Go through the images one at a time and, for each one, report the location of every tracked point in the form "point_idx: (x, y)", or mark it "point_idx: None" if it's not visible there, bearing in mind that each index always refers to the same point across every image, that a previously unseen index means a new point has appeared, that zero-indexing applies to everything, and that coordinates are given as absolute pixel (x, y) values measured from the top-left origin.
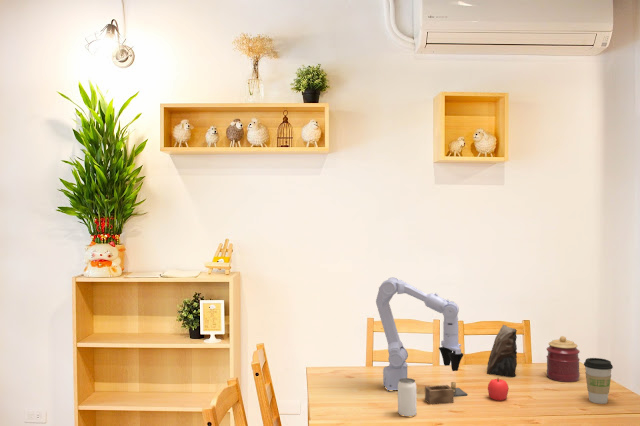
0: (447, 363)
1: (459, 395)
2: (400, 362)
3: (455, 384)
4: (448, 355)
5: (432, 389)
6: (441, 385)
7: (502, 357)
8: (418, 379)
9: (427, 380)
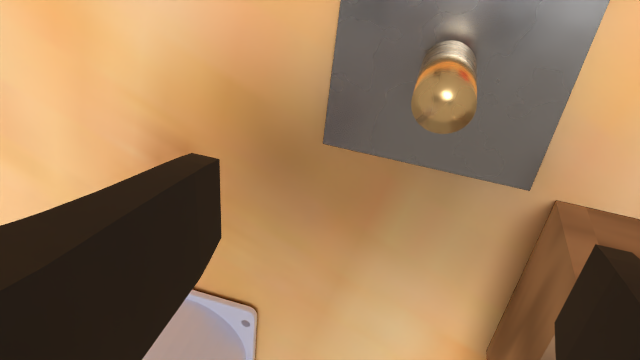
0: (201, 221)
1: (579, 63)
2: None
3: (473, 82)
4: (81, 322)
5: None
6: (551, 345)
7: None
8: (15, 125)
9: (38, 73)
